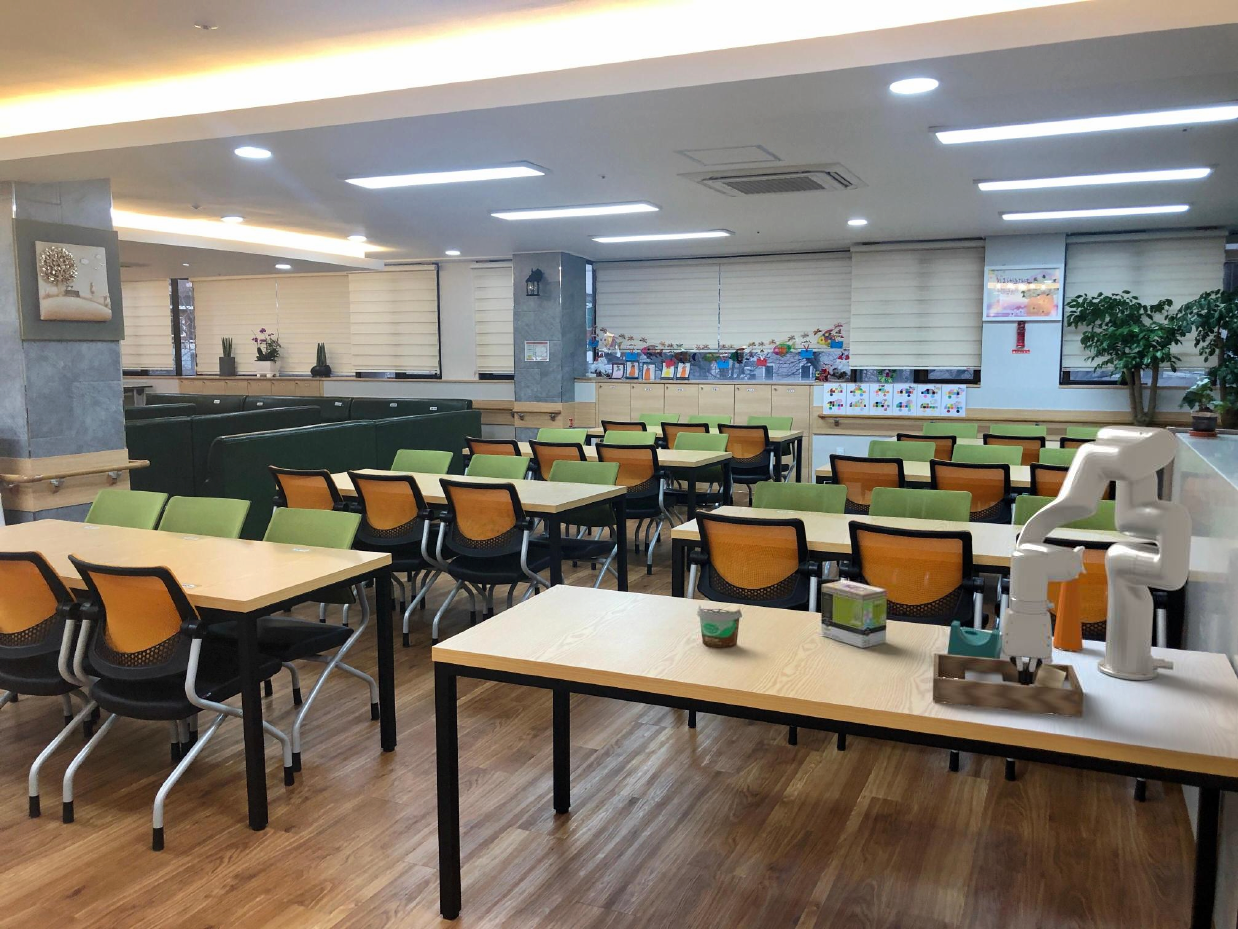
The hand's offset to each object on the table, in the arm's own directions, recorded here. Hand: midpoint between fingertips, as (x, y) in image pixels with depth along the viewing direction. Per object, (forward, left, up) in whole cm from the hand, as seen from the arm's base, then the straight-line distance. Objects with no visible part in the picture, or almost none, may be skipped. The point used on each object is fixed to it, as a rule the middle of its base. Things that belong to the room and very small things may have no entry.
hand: (1024, 686), depth 202 cm
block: (-4, +1, 0) cm, 4 cm away
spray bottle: (-15, -46, -4) cm, 49 cm away
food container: (+74, -19, -4) cm, 77 cm away
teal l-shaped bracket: (+9, -28, -4) cm, 30 cm away
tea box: (+40, -36, -4) cm, 54 cm away
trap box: (+4, -3, -4) cm, 6 cm away
